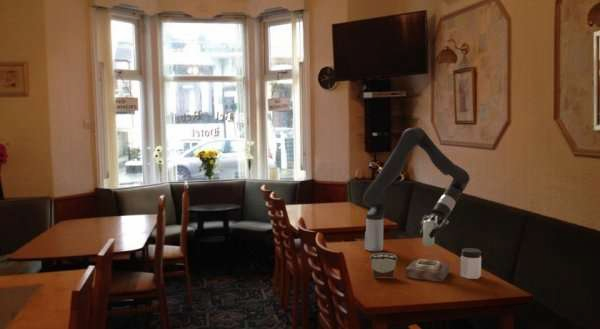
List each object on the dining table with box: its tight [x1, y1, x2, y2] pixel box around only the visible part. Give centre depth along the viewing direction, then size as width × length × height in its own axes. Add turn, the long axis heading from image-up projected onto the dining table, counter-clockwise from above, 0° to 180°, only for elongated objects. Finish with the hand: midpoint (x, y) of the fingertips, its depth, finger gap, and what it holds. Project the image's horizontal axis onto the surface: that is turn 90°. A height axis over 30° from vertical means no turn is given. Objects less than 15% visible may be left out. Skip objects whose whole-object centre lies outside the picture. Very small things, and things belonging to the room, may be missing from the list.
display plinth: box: [405, 258, 450, 283], centre depth 232 cm, size 16×16×6 cm
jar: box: [460, 247, 482, 280], centre depth 230 cm, size 9×8×12 cm
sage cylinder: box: [422, 220, 435, 247], centre depth 231 cm, size 5×5×11 cm
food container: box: [369, 252, 398, 279], centre depth 231 cm, size 12×6×10 cm, turn 84°
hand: (425, 235), depth 230 cm, fingers closed on sage cylinder, 5 cm apart
